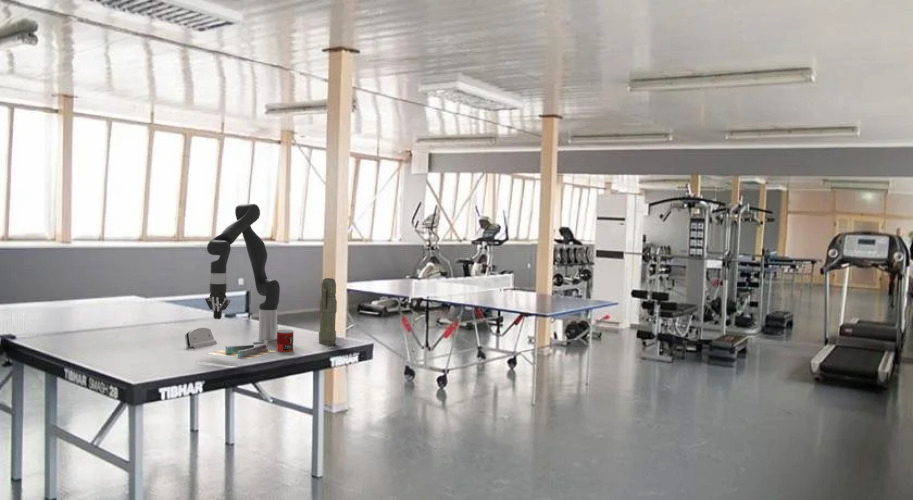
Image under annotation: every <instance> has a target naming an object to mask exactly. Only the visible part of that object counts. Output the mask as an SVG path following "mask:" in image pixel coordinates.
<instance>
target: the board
mask: <svg viewBox="0 0 913 500" xmlns="http://www.w3.org/2000/svg"><path fill="white" fill-rule="evenodd" d="M225 349H226V348H224V349H220V350H216V351H213V352H209V353H207V355H211V356H212V355H214V356H220V357H230V358H231V357H232V358H239V359H247V360H251V359H254V358H258V357H261V356H265V355H268V354H272V353H275V352H277V350H269V349H268V351H265V352H261V353H258V354H254V355H251V356H247V357H243V358H241V357H238V353H231V354H226V353H225Z"/></svg>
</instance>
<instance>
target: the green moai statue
mask: <svg viewBox="0 0 913 500" xmlns="http://www.w3.org/2000/svg"><path fill="white" fill-rule="evenodd" d="M320 286H321V289H320V291H321V292H320V293H321V296H320V300H319V314H320V316H319V317H320V318H319V319H320V322H319V330H318V343H319V344H322V345H330V347H333V346H336V342H337V341H336V340H337V331H336V313H337V309H338V305H337V304H338V301H337V297H336V295H337V282H336V280H335V279H334V278H333V277H332V278H331V277H328V278H327V277H326V278H323V279H322V281H321V285H320Z"/></svg>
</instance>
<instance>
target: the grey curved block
mask: <svg viewBox="0 0 913 500" xmlns="http://www.w3.org/2000/svg"><path fill="white" fill-rule="evenodd" d="M212 332H213V331H212V330H211V328H207V327H197V328H194V329H191V330H189V331H187V333H185V334H184V339H185V345H186V348H192V347H193V349H194V350H195V349H199V348H205V347H208V346H213V345H217V344H218V342H217V340H216V339H214V336H213V333H212Z"/></svg>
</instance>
